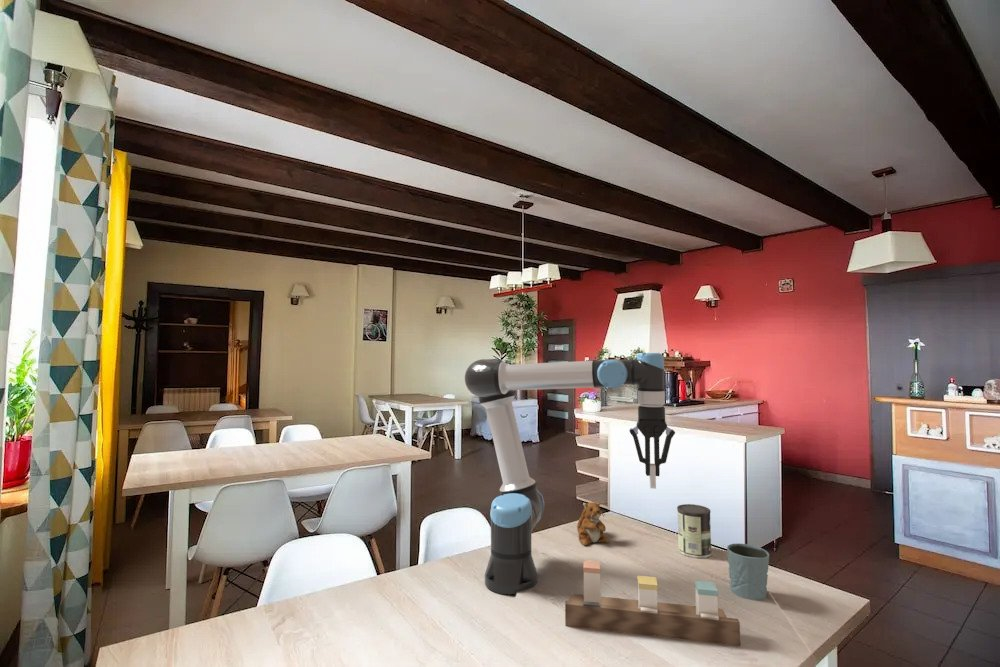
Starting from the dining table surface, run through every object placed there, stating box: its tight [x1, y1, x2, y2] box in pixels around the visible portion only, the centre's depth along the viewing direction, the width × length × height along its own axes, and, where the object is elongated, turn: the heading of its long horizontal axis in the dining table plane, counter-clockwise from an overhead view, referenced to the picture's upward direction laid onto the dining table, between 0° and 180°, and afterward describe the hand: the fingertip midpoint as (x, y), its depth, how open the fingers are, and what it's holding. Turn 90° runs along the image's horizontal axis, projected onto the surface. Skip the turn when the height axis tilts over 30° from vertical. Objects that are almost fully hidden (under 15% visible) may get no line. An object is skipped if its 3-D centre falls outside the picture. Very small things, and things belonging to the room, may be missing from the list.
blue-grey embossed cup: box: [726, 543, 770, 601], centre depth 130 cm, size 10×10×12 cm
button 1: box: [582, 560, 601, 604], centre depth 122 cm, size 4×4×10 cm
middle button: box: [637, 575, 659, 610], centre depth 114 cm, size 4×4×10 cm
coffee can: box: [676, 503, 712, 559], centre depth 159 cm, size 10×10×14 cm
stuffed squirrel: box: [576, 501, 610, 547], centre depth 171 cm, size 10×14×13 cm
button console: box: [564, 592, 741, 647], centre depth 117 cm, size 38×16×6 cm, turn 78°
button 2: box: [694, 580, 719, 615], centre depth 111 cm, size 4×4×10 cm
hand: (652, 487), depth 140 cm, fingers closed
